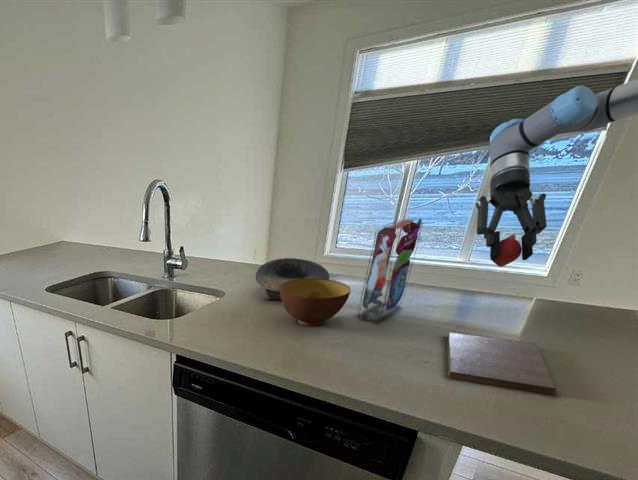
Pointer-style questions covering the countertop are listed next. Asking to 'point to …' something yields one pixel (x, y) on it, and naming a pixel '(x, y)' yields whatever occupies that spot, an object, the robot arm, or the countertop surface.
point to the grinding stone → (287, 274)
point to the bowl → (313, 299)
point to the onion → (508, 251)
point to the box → (382, 261)
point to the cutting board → (498, 363)
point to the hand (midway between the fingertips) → (511, 257)
